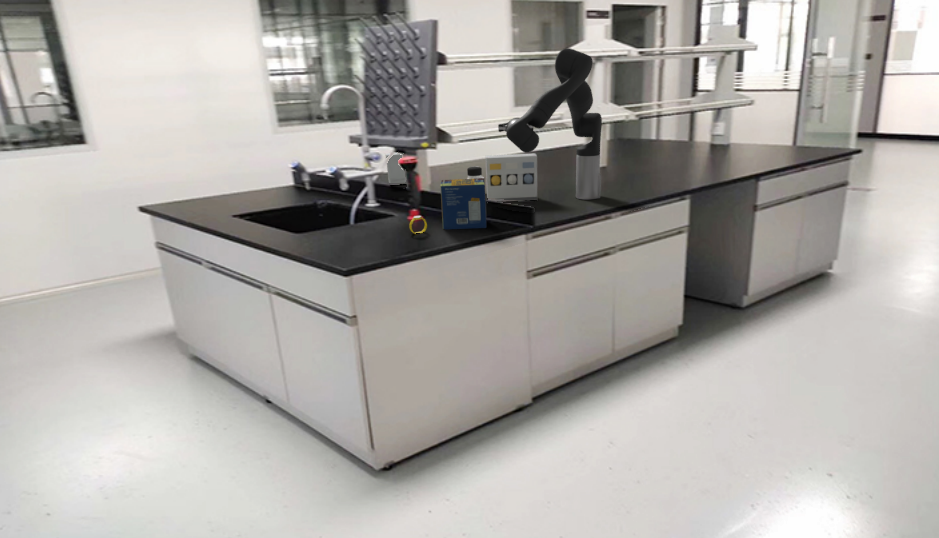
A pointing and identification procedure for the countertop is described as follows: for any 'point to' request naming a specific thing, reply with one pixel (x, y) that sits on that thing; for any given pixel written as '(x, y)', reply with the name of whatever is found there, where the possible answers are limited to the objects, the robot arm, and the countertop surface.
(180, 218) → the countertop surface
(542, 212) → the countertop surface
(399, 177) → the grey shouldered block
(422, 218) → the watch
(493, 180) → the amber button
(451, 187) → the protein box
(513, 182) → the white button
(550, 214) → the countertop surface
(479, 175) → the medicine bottle
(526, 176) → the blue button
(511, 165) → the panel
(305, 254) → the countertop surface
